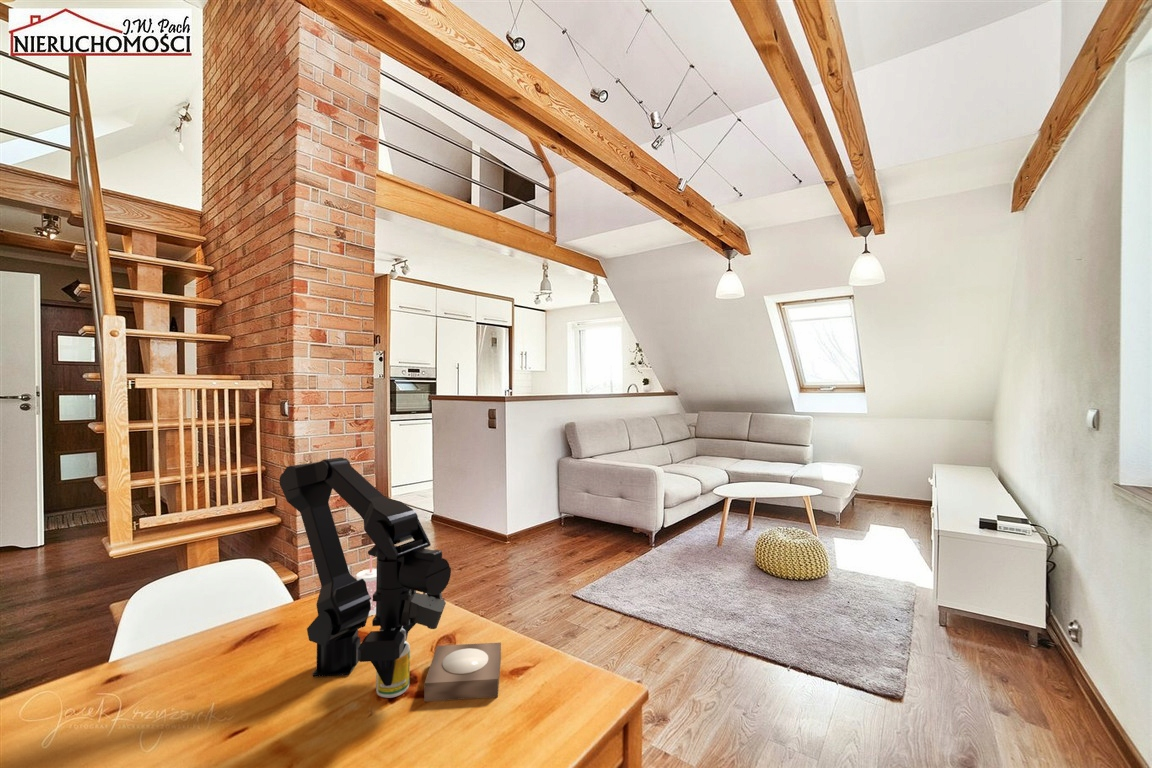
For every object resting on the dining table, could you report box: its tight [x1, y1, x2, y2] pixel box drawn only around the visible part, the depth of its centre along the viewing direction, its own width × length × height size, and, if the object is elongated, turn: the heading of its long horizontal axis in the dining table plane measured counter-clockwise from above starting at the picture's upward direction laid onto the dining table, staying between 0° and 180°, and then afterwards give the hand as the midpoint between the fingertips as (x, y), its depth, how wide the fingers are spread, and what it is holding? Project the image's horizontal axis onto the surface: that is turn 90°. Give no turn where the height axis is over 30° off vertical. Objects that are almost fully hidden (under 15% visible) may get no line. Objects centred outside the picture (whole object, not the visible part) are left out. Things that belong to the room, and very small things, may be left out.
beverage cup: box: [355, 555, 377, 617], centre depth 113 cm, size 6×6×14 cm
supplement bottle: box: [375, 628, 411, 699], centre depth 84 cm, size 5×5×10 cm
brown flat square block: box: [423, 642, 502, 702], centre depth 87 cm, size 12×12×3 cm
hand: (393, 674), depth 84 cm, fingers open, 6 cm apart
